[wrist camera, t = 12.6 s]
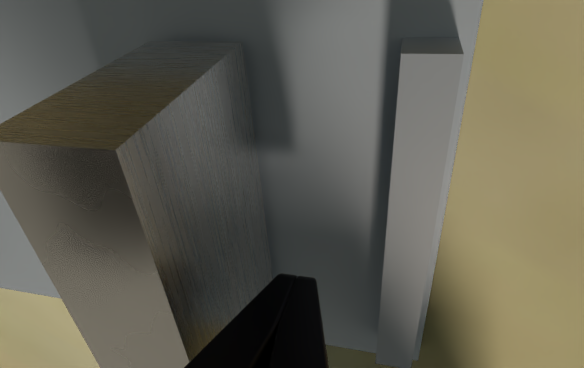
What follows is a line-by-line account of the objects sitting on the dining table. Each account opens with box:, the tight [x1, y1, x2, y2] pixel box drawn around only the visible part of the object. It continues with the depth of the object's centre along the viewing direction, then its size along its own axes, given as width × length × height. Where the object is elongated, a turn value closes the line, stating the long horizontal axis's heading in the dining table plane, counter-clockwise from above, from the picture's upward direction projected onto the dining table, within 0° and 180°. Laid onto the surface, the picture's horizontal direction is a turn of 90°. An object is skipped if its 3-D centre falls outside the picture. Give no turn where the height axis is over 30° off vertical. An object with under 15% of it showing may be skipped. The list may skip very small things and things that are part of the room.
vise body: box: [0, 0, 483, 368], centre depth 11 cm, size 11×21×4 cm, turn 94°
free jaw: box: [0, 41, 273, 368], centre depth 9 cm, size 9×2×4 cm, turn 4°
